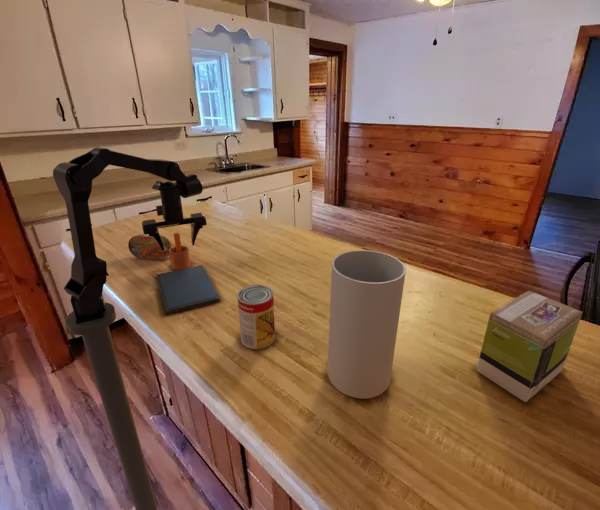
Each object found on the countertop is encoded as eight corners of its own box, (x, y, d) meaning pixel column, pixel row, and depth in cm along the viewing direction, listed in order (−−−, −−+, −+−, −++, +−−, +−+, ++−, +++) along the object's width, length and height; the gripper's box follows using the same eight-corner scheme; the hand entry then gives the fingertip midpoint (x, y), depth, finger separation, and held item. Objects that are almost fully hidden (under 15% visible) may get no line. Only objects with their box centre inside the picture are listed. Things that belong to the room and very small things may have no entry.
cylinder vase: (327, 399, 62) (333, 282, 53) (326, 352, 74) (330, 249, 64) (396, 402, 62) (414, 284, 52) (383, 354, 73) (396, 250, 63)
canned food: (280, 332, 80) (279, 289, 75) (264, 353, 74) (262, 307, 69) (252, 323, 83) (249, 281, 78) (234, 343, 76) (230, 298, 72)
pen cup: (173, 271, 108) (170, 254, 106) (170, 263, 113) (167, 247, 111) (192, 267, 111) (190, 251, 108) (189, 260, 116) (186, 244, 113)
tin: (130, 257, 117) (125, 235, 114) (135, 254, 120) (131, 232, 117) (170, 261, 115) (166, 238, 112) (174, 257, 118) (171, 234, 115)
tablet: (166, 315, 86) (165, 311, 86) (157, 277, 104) (156, 274, 104) (220, 301, 92) (219, 297, 92) (202, 268, 110) (202, 264, 110)
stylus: (178, 265, 111) (174, 235, 106) (178, 263, 112) (173, 233, 108) (183, 264, 111) (179, 234, 107) (183, 262, 113) (178, 232, 108)
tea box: (512, 344, 76) (529, 288, 71) (562, 372, 69) (587, 311, 63) (473, 370, 69) (489, 310, 63) (525, 405, 61) (549, 340, 55)
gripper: (197, 192, 114) (202, 234, 120) (136, 198, 106) (145, 244, 112) (204, 200, 105) (209, 246, 111) (138, 208, 97) (148, 257, 103)
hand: (178, 247), depth 109 cm, fingers open, 9 cm apart
